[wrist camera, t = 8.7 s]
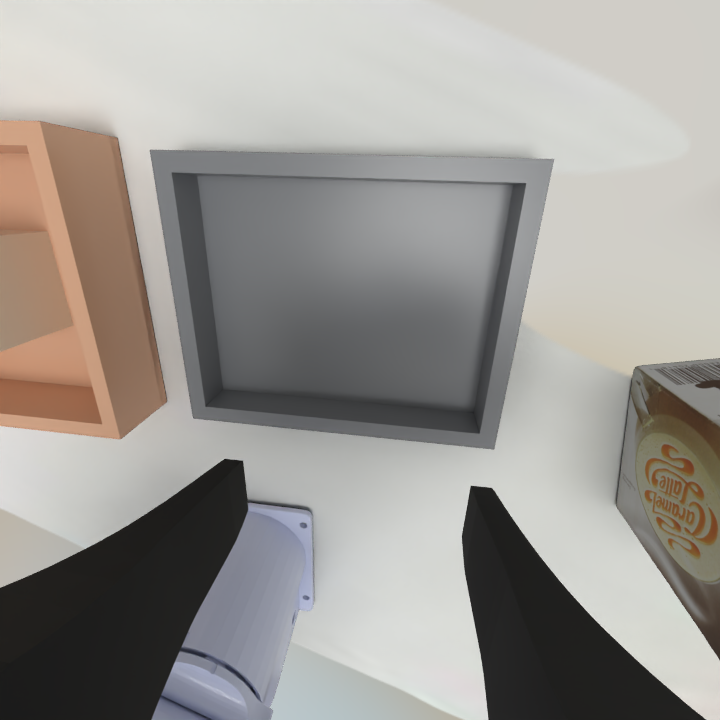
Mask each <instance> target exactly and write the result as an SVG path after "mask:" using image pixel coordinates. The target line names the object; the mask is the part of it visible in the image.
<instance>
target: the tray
mask: <svg viewBox="0 0 720 720" xmlns="http://www.w3.org/2000/svg"><path fill="white" fill-rule="evenodd" d="M150 154H151V161H152V167H153V173H154V179H155V185H156V192H157V198H158V204H159V210H160V216H161V223H162V229H163V235H164V241H165V247H166V254H167V260H168V266H169V272H170V278H171V285H172V291H173V297H174V303H175V309H176V316H177V322H178V328H179V334H180V340H181V347H182V353H183V359H184V365H185V371H186V378H187V384H188V390H189V396H190V402H191V409H192V415H193V418H194V419H204V420H214V421H223V422H233V423H243V424H253V425H262V426H272V427H282V428H291V429H301V430H311V431H320V432H330V433H340V434H349V435H359V436H369V437H379V438H388V439H398V440H408V441H417V442H427V443H437V444H446V445H456V446H466V447H476V448H485V449H494V447H495V442H496V438H497V433H498V428H499V423H500V418H501V413H502V409H503V404H504V399H505V394H506V389H507V384H508V380H509V375H510V370H511V365H512V360H513V355H514V351H515V346H516V341H517V336H518V331H519V326H520V322H521V317H522V312H523V307H524V302H525V297H526V292H527V288H528V283H529V278H530V273H531V268H532V263H533V259H534V254H535V249H536V244H537V239H538V235H539V230H540V225H541V220H542V215H543V210H544V205H545V201H546V195H547V191H548V186H549V181H550V177H551V172H552V167H553V162H554V159H526V158H483V157H440V156H398V155H355V154H312V153H269V152H226V151H184V150H150Z"/></svg>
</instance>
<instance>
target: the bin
mask: <svg viewBox="0 0 720 720" xmlns="http://www.w3.org/2000/svg"><path fill="white" fill-rule="evenodd" d="M0 229H7V230H27V231H48V234H49V237H50V241H51V245H52V248H53V252H54V256H55V259H56V263H57V267H58V270H59V274H60V278H61V281H62V285H63V288H64V292H65V296H66V299H67V303H68V307H69V310H70V314H71V318H72V321H73V326H70V327H67V328H64V329H62V330H59V331H56V332H53V333H51V334H48V335H45V336H42V337H40V338H37V339H34V340H31V341H29V342H26V343H23V344H20V345H18V346H15V347H12V348H9V349H7V350H4V351H1V352H0V426H6V427H15V428H24V429H32V430H41V431H50V432H59V433H68V434H77V435H86V436H95V437H104V438H113V439H122V438H123V437H124V436H125V435H126V434H128V433H129V432H130V431H131V430H133V429H134V428H135V427H136V426H138V425H139V424H140V423H141V422H143V421H144V420H145V419H146V418H147V417H149V416H150V415H151V414H152V413H154V412H155V411H156V410H157V409H159V408H160V407H161V406H162V405H163V404H165V403H166V402H167V399H166V394H165V388H164V383H163V378H162V373H161V367H160V362H159V357H158V351H157V346H156V341H155V336H154V330H153V325H152V320H151V314H150V309H149V304H148V298H147V293H146V288H145V283H144V277H143V272H142V267H141V261H140V256H139V251H138V245H137V240H136V235H135V230H134V224H133V219H132V214H131V208H130V203H129V198H128V192H127V187H126V182H125V177H124V171H123V166H122V161H121V155H120V150H119V145H118V139H117V138H116V137H111V136H106V135H102V134H97V133H92V132H88V131H83V130H78V129H74V128H69V127H64V126H60V125H55V124H50V123H46V122H41V121H0Z"/></svg>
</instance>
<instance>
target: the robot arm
mask: <svg viewBox="0 0 720 720" xmlns="http://www.w3.org/2000/svg"><path fill="white" fill-rule="evenodd" d="M303 522H304V523H306V524H304V523H303ZM462 544H463V557H464V568H465V575H466V580H467V586H468V591H469V596H470V602H471V607H472V612H473V617H474V622H475V628H476V633H477V638H478V643H479V648H480V653H481V660H482V666H483V673H484V681H485V690H486V700H487V709H488V718H489V720H706V719H704V718H703V717H702V716H701V715H699V714H698V713H697V712H696V711H694V710H693V709H692V708H691V707H689V706H688V705H687V704H686V703H685V702H683V701H682V700H681V699H680V698H679V697H678V696H677V695H675V694H674V693H673V692H672V691H671V690H670V689H668V688H667V687H666V686H665V685H664V684H663V683H661V682H660V681H659V680H658V679H657V678H656V677H654V676H653V675H652V674H651V673H650V672H649V671H648V670H647V669H646V668H644V667H643V666H642V665H641V664H640V663H639V662H638V661H637V660H636V659H635V658H634V657H633V656H632V655H630V654H629V653H628V652H627V651H626V650H625V649H624V648H623V647H622V646H621V645H620V644H619V643H618V642H617V641H616V640H615V639H614V638H613V637H612V636H611V635H609V634H608V633H607V632H606V631H605V630H604V629H603V628H602V627H601V626H600V625H599V624H598V623H597V622H596V621H595V620H594V619H593V618H592V617H591V615H590V614H589V613H588V612H587V611H586V610H585V609H584V608H583V607H582V606H581V605H580V604H579V602H578V601H577V600H576V599H575V598H574V597H573V596H572V595H571V594H570V592H569V591H568V590H567V589H566V588H565V587H564V586H563V584H562V583H561V582H560V581H559V580H558V578H557V577H556V576H555V575H554V573H553V572H552V571H551V570H550V569H549V567H548V566H547V565H546V564H545V562H544V561H543V560H542V559H541V557H540V556H539V555H538V553H537V552H536V551H535V549H534V548H533V547H532V545H531V544H530V543H529V541H528V540H527V539H526V537H525V536H524V534H523V533H522V532H521V530H520V529H519V527H518V526H517V525H516V523H515V522H514V520H513V519H512V517H511V516H510V514H509V513H508V511H507V510H506V508H505V507H504V505H503V504H502V502H501V501H500V499H499V497H498V496H497V494H496V493H495V491H494V490H493V489H492V488H487V487H477V486H471V488H470V494H469V499H468V505H467V511H466V516H465V522H464V527H463V533H462ZM313 605H314V578H313V531H312V514H311V513H310V512H309V511H307V510H302V509H295V508H287V507H279V506H271V505H263V504H255V503H248V501H247V492H246V484H245V475H244V466H243V461H239V460H230V459H224V460H223V461H221V462H220V463H218V464H217V465H216V466H214V467H213V468H211V469H210V470H209V471H207V472H206V473H204V474H203V475H202V476H200V477H199V478H198V479H196V480H195V481H193V482H192V483H191V484H189V485H188V486H186V487H185V488H184V489H182V490H181V491H179V492H178V493H177V494H175V495H174V496H172V497H171V498H170V499H168V500H167V501H165V502H164V503H162V504H161V505H159V506H157V507H156V508H154V509H153V510H151V511H150V512H148V513H147V514H145V515H144V516H142V517H141V518H139V519H138V520H136V521H134V522H133V523H131V524H129V525H128V526H126V527H124V528H123V529H121V530H119V531H118V532H116V533H114V534H112V535H111V536H109V537H107V538H105V539H103V540H102V541H100V542H98V543H96V544H94V545H92V546H90V547H89V548H86V549H84V550H82V551H80V552H78V553H77V554H75V555H72V556H70V557H68V558H66V559H64V560H62V561H60V562H58V563H56V564H54V565H52V566H50V567H48V568H46V569H43V570H41V571H39V572H37V573H34V574H32V575H30V576H28V577H25V578H23V579H21V580H18V581H16V582H13V583H11V584H9V585H6V586H4V587H1V588H0V720H271V717H272V713H273V710H272V709H271V708H270V706H271V703H272V701H273V699H274V696H275V693H276V689H277V686H278V682H279V679H280V675H281V672H282V668H283V665H284V661H285V657H286V654H287V650H288V646H289V643H290V640H291V636H292V633H293V629H294V625H295V622H296V618H297V615H298V611H299V610H303V611H310V610H312V609H313Z"/></svg>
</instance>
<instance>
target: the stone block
mask: <svg viewBox="0 0 720 720" xmlns="http://www.w3.org/2000/svg"><path fill="white" fill-rule="evenodd" d="M70 326H73V321H72V318H71V314H70V310H69V307H68V303H67V299H66V296H65V292H64V288H63V285H62V281H61V278H60V274H59V270H58V267H57V263H56V259H55V256H54V252H53V248H52V245H51V241H50V237H49V234H48V231H27V230H7V229H0V352H1V351H4V350H7V349H9V348H12V347H15V346H18V345H20V344H23V343H26V342H29V341H31V340H34V339H37V338H40V337H42V336H45V335H48V334H51V333H53V332H56V331H59V330H62V329H64V328H67V327H70Z"/></svg>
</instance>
